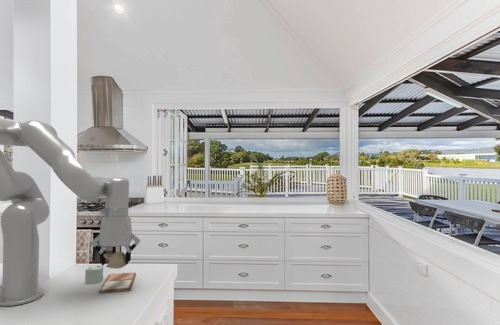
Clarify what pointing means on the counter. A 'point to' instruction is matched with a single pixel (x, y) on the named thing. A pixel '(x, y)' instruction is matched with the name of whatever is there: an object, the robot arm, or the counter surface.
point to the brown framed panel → (118, 282)
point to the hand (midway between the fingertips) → (115, 263)
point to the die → (94, 274)
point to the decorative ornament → (116, 260)
